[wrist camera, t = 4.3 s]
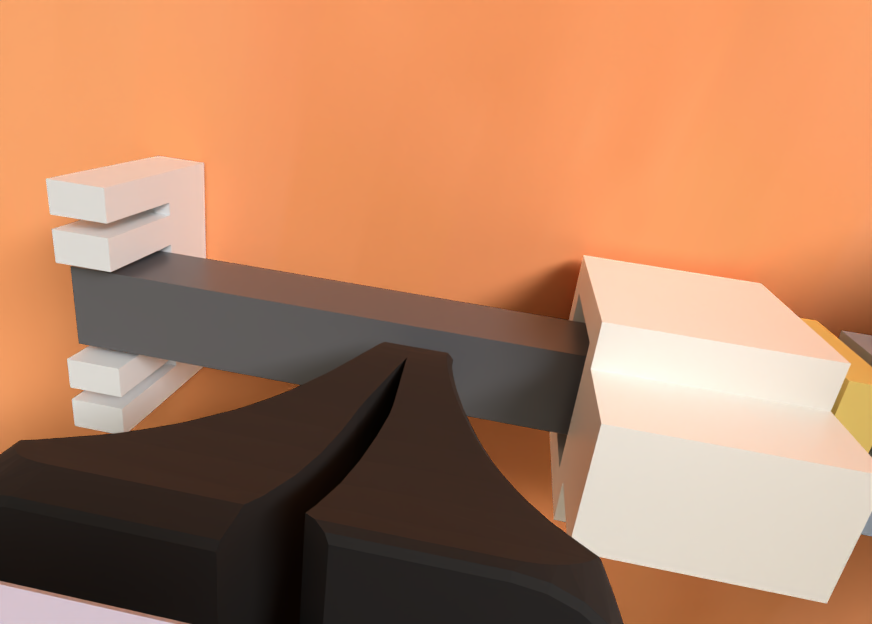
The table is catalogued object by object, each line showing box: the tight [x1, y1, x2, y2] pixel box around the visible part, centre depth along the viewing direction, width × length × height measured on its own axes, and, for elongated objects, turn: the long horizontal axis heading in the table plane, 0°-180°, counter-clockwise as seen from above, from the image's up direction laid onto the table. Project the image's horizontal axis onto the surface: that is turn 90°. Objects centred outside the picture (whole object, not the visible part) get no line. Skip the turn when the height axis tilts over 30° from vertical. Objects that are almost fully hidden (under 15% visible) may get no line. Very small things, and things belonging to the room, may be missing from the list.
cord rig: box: [46, 156, 872, 536], centre depth 13 cm, size 19×6×4 cm, turn 83°
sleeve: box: [550, 255, 872, 603], centre depth 12 cm, size 4×4×6 cm
